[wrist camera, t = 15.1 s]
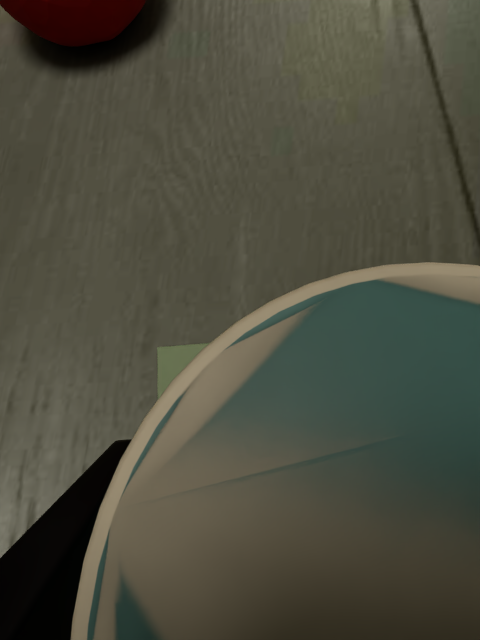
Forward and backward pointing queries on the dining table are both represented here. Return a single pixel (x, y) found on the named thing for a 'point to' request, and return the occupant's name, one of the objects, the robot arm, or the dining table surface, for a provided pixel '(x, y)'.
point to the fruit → (74, 18)
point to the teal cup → (306, 475)
